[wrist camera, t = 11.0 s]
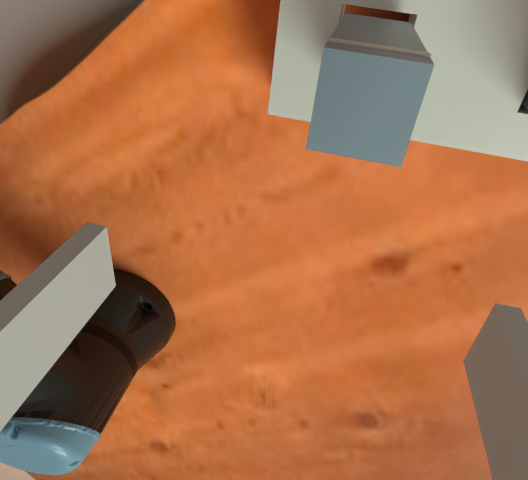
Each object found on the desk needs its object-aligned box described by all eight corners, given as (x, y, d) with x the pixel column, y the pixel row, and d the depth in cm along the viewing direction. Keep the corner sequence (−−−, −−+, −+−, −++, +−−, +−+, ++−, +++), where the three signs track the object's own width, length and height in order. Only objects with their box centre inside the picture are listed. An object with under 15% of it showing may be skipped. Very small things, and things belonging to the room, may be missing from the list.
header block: (281, 95, 39) (267, 114, 34) (301, -60, 32) (287, -64, 27) (595, 150, 35) (629, 179, 31) (694, -11, 28) (758, -6, 24)
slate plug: (331, 80, 30) (304, 149, 19) (345, 12, 28) (322, 45, 17) (392, 90, 30) (401, 168, 19) (412, 21, 27) (436, 63, 16)
